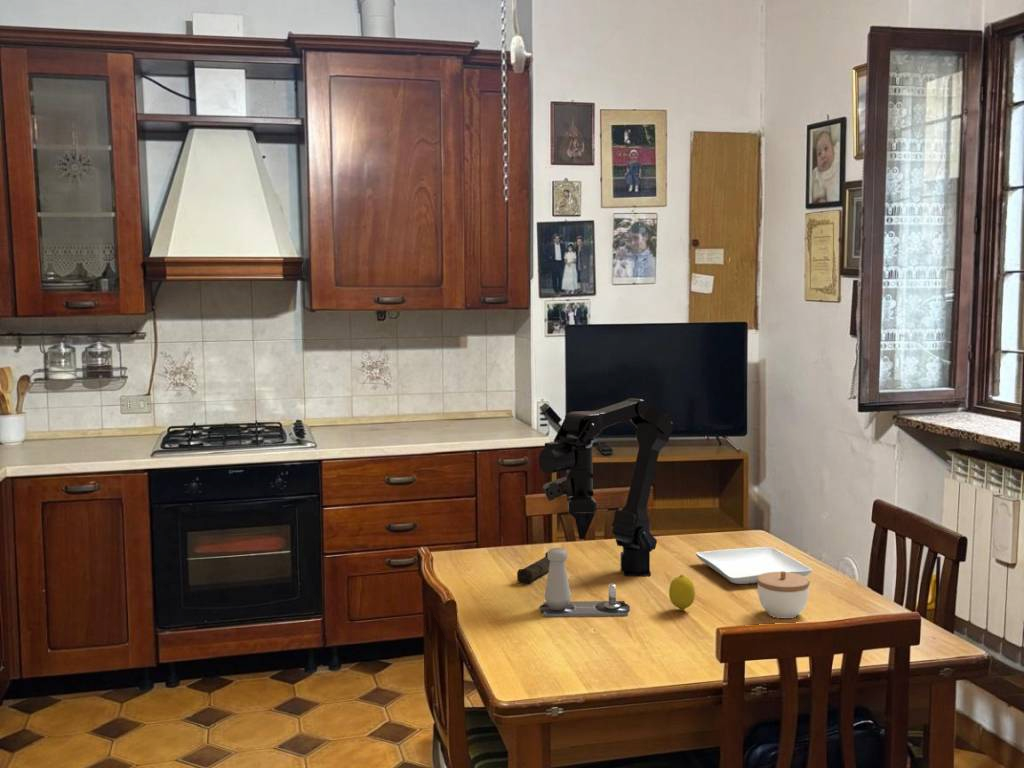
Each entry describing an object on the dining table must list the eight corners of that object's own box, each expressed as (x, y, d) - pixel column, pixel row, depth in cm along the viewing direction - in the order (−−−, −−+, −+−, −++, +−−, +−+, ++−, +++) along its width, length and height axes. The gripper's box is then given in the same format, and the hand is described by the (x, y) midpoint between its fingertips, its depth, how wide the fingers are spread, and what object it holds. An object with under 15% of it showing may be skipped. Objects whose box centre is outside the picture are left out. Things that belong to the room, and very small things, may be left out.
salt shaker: (566, 612, 222) (566, 553, 221) (541, 610, 224) (540, 551, 222) (574, 604, 228) (573, 546, 226) (549, 601, 229) (548, 544, 228)
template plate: (628, 603, 229) (627, 600, 229) (631, 615, 221) (631, 613, 221) (539, 604, 230) (539, 601, 230) (540, 616, 222) (539, 614, 222)
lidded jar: (819, 617, 218) (820, 574, 217) (779, 626, 214) (780, 582, 213) (785, 603, 228) (785, 561, 227) (746, 611, 223) (746, 568, 222)
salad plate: (814, 582, 243) (814, 568, 243) (731, 591, 238) (731, 576, 237) (771, 558, 263) (771, 544, 263) (693, 565, 258) (693, 552, 258)
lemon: (696, 607, 226) (696, 572, 225) (692, 615, 221) (692, 579, 220) (671, 605, 228) (671, 570, 227) (666, 613, 222) (666, 577, 222)
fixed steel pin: (619, 604, 227) (619, 582, 226) (621, 609, 224) (621, 587, 223) (603, 604, 227) (603, 582, 227) (604, 609, 224) (604, 587, 223)
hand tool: (530, 586, 243) (530, 567, 243) (516, 584, 245) (516, 565, 245) (570, 566, 259) (570, 548, 259) (556, 564, 261) (556, 546, 261)
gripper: (544, 460, 246) (545, 524, 248) (545, 476, 228) (546, 545, 230) (591, 459, 246) (591, 523, 248) (596, 475, 228) (596, 544, 230)
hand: (580, 533), depth 239 cm, fingers open, 9 cm apart
